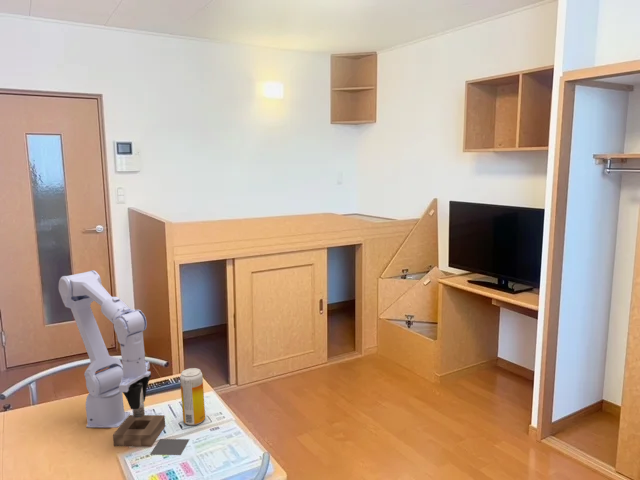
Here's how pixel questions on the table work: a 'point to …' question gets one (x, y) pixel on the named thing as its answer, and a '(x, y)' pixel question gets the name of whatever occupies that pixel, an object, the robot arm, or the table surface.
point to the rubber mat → (169, 447)
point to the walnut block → (139, 431)
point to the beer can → (192, 396)
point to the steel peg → (140, 412)
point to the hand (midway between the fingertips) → (137, 405)
